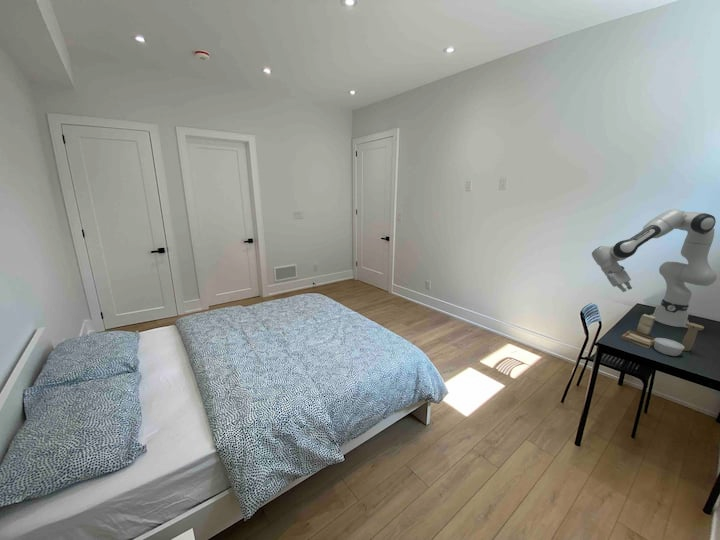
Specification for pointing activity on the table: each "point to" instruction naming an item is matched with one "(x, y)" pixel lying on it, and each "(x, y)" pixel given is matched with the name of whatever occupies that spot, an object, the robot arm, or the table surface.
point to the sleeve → (645, 324)
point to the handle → (691, 335)
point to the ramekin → (668, 346)
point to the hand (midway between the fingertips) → (627, 290)
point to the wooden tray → (638, 339)
